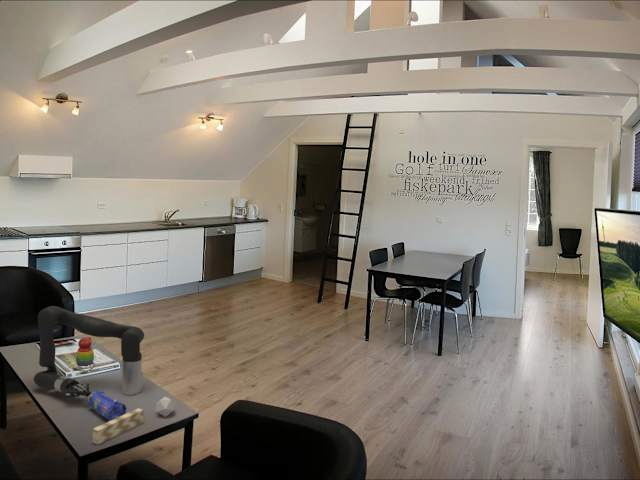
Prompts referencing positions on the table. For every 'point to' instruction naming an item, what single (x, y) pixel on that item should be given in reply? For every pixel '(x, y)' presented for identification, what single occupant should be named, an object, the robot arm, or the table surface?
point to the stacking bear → (84, 352)
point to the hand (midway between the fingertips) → (89, 394)
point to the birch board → (117, 426)
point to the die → (165, 406)
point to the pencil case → (106, 405)
